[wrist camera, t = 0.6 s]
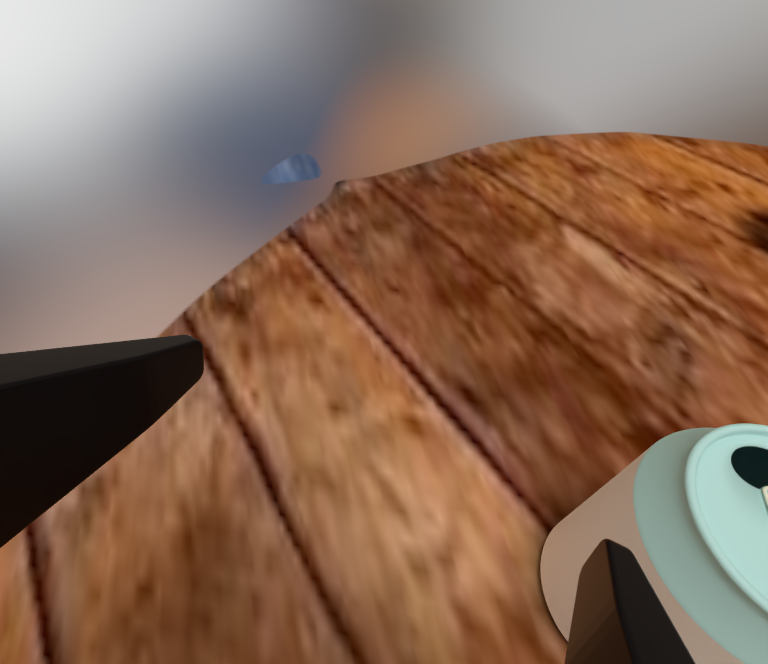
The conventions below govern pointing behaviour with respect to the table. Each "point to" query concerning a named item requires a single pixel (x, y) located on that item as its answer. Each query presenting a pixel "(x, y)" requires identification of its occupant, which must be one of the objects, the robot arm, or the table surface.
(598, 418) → the table surface
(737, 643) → the can
